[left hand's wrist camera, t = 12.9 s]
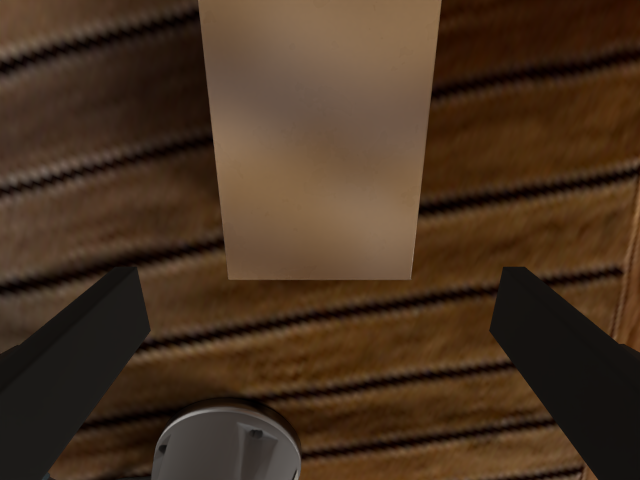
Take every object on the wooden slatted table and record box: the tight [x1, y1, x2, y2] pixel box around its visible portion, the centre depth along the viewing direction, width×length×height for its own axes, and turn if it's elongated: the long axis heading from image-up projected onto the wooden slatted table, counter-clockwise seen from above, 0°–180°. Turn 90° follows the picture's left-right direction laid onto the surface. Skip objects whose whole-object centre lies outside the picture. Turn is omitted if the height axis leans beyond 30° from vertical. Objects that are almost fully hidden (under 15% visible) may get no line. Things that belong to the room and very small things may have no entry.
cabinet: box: [198, 0, 441, 280], centre depth 21 cm, size 20×11×9 cm, turn 0°
